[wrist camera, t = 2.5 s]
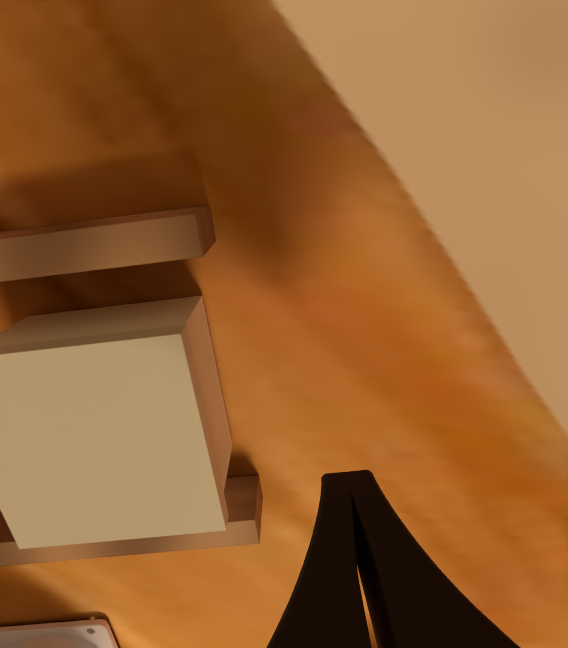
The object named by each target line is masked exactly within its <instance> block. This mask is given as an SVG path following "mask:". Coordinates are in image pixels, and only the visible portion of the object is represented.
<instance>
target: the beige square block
mask: <svg viewBox="0 0 568 648" xmlns="http://www.w3.org/2000/svg"><path fill="white" fill-rule="evenodd" d="M232 445H233V444H232V439H231V434H230V430H229V425H228V420H227V415H226V410H225V405H224V400H223V395H222V390H221V386H220V381H219V376H218V371H217V366H216V361H215V356H214V351H213V346H212V342H211V337H210V332H209V327H208V322H207V317H206V312H205V307H204V302H203V298H202V296H194V297H185V298H177V299H168V300H160V301H151V302H143V303H135V304H126V305H118V306H109V307H101V308H92V309H84V310H75V311H67V312H58V313H50V314H41V315H33V316H27V317H25V318H23V319H22V320H20V321H19V322H17V323H15V324H14V325H12V326H11V327H9V328H7V329H6V330H4V331H3V332H1V333H0V510H1V512H2V514H3V516H4V518H5V520H6V522H7V524H8V527H9V529H10V531H11V533H12V535H13V537H14V539H15V541H16V543H17V545H18V547H19V549H27V548H38V547H49V546H60V545H71V544H82V543H94V542H105V541H116V540H127V539H138V538H149V537H160V536H171V535H183V534H194V533H205V532H216V531H226V529H227V523H228V517H229V514H228V509H227V505H226V500H225V496H224V488H225V483H226V477H227V472H228V466H229V461H230V456H231V450H232Z"/></svg>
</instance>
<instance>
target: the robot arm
mask: <svg viewBox="0 0 568 648" xmlns="http://www.w3.org/2000/svg"><path fill="white" fill-rule="evenodd" d="M321 482H322V485H321V496H320V503H319V508H318V514H317V518H316V522H315V526H314V530H313V534H312V538H311V541H310V545H309V548H308V551H307V554H306V557H305V560H304V564H303V566H302V569H301V572H300V575H299V577H298V580H297V583H296V585H295V588H294V590H293V593H292V595H291V597H290V600H289V602H288V604H287V607H286V609H285V611H284V613H283V615H282V617H281V620H280V622H279V624H278V626H277V628H276V630H275V632H274V634H273V636H272V638H271V640H270V642H269V644H268V646H267V647H266V648H372V647H371V642H370V637H369V632H368V627H367V621H366V616H365V611H364V606H363V600H362V595H361V590H360V584H359V579H358V571H357V566H358V570H359V574H360V578H361V582H362V586H363V590H364V594H365V598H366V602H367V606H368V610H369V613H370V617H371V621H372V625H373V629H374V633H375V637H376V641H377V645H378V648H520V647H519V646H518V645H517V644H516V643H514V642H513V641H512V640H511V639H510V638H509V637H508V636H507V635H506V634H504V633H503V632H502V631H501V630H500V629H499V628H498V627H497V626H496V625H495V624H494V623H493V622H491V621H490V620H489V619H488V618H487V617H486V616H485V615H484V614H483V613H482V612H481V611H479V610H478V609H477V608H476V607H475V606H474V605H473V604H472V603H471V602H470V601H469V600H468V599H467V598H466V597H465V596H464V595H463V594H462V593H461V592H460V591H459V590H458V588H457V587H456V586H455V585H454V584H453V583H452V582H451V581H450V580H449V579H448V578H447V577H446V576H445V574H444V573H443V572H442V571H441V570H440V569H439V568H438V567H437V565H436V564H435V563H434V562H433V561H432V560H431V558H430V557H429V556H428V555H427V554H426V552H425V551H424V550H423V549H422V547H421V546H420V545H419V544H418V542H417V541H416V540H415V539H414V537H413V536H412V535H411V533H410V532H409V531H408V529H407V528H406V526H405V525H404V524H403V522H402V521H401V520H400V518H399V517H398V515H397V514H396V513H395V511H394V510H393V508H392V507H391V505H390V503H389V502H388V500H387V499H386V497H385V496H384V494H383V492H382V491H381V489H380V487H379V485H378V484H377V482H376V480H375V478H374V476H373V474H372V472H370V471H369V470H360V471H350V472H339V473H329V474H324V475H323V476H322V477H321ZM0 648H118V646H117V644H116V641H115V639H114V636H113V634H112V632H111V629H110V627H109V624H108V623H107V621H105V620H102V619H94V620H82V621H70V622H57V623H45V624H32V625H20V626H8V627H0Z"/></svg>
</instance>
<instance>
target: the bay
mask: <svg viewBox="0 0 568 648" xmlns="http://www.w3.org/2000/svg"><path fill="white" fill-rule="evenodd" d="M215 241H216V239H215V234H214V228H213V223H212V217H211V212H210V206H209V205H203V206H196V207H188V208H180V209H172V210H165V211H157V212H149V213H141V214H134V215H126V216H118V217H110V218H103V219H95V220H87V221H79V222H72V223H64V224H56V225H48V226H41V227H33V228H25V229H17V230H9V231H2V232H0V282H2V281H10V280H19V279H27V278H35V277H43V276H51V275H59V274H68V273H76V272H84V271H92V270H100V269H108V268H116V267H125V266H133V265H141V264H149V263H157V262H165V261H173V260H182V259H190V258H198V257H203V256H204V255H205V254H206V253H207V251H208V250H209V249H210V248H211V246H212V245H213V244H214V243H215ZM224 496H225V500H226V505H227V509H228V514H229V517H228V523H227V529H226V531H216V532H205V533H194V534H183V535H171V536H160V537H149V538H138V539H127V540H116V541H105V542H94V543H82V544H71V545H60V546H49V547H38V548H27V549H19V547H18V545H17V543H16V541H15V539H14V537H13V535H12V533H11V531H10V529H9V527H8V524H7V522H6V520H5V518H4V516H3V514H2V512H1V510H0V566H10V565H22V564H33V563H44V562H56V561H67V560H79V559H90V558H101V557H113V556H124V555H135V554H147V553H158V552H169V551H181V550H192V549H203V548H215V547H226V546H238V545H249V544H259V543H260V528H261V514H262V499H263V496H262V490H261V485H260V480H259V475H253V476H242V477H232V478H226V483H225V488H224Z"/></svg>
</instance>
